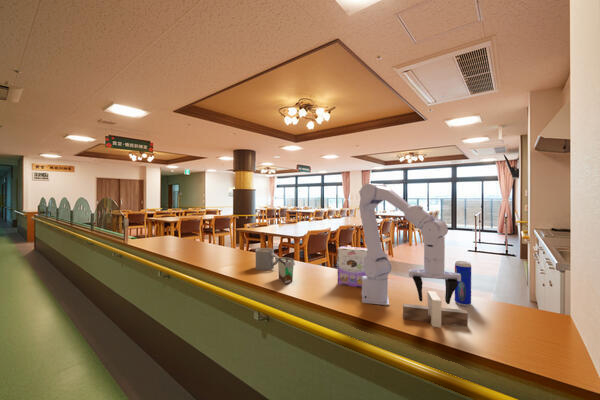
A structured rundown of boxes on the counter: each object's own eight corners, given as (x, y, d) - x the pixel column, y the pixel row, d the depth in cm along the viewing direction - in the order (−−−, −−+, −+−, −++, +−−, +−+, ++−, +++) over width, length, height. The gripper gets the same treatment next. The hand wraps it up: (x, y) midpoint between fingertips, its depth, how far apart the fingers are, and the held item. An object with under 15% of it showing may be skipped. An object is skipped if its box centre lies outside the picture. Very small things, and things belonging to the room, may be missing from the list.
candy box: (371, 285, 117) (371, 248, 117) (368, 289, 112) (368, 250, 111) (341, 280, 123) (341, 245, 123) (337, 284, 118) (337, 247, 118)
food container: (299, 284, 118) (298, 261, 118) (285, 285, 116) (285, 263, 116) (289, 276, 130) (289, 256, 130) (277, 277, 127) (277, 257, 127)
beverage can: (451, 301, 98) (451, 261, 98) (461, 299, 100) (461, 260, 100) (464, 307, 93) (464, 264, 93) (474, 304, 95) (474, 263, 95)
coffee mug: (251, 268, 145) (251, 250, 144) (265, 264, 152) (265, 247, 152) (268, 272, 136) (268, 253, 136) (282, 268, 144) (282, 250, 144)
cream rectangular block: (427, 315, 87) (427, 290, 87) (435, 315, 86) (435, 291, 86) (432, 326, 79) (432, 300, 79) (441, 327, 79) (441, 300, 79)
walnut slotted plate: (403, 318, 84) (403, 306, 84) (402, 315, 87) (402, 303, 87) (467, 326, 79) (467, 313, 79) (465, 322, 82) (465, 310, 82)
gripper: (410, 259, 81) (410, 303, 81) (464, 263, 77) (464, 309, 77) (408, 254, 88) (407, 295, 88) (457, 257, 84) (456, 300, 84)
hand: (433, 301), depth 83 cm, fingers open, 7 cm apart
